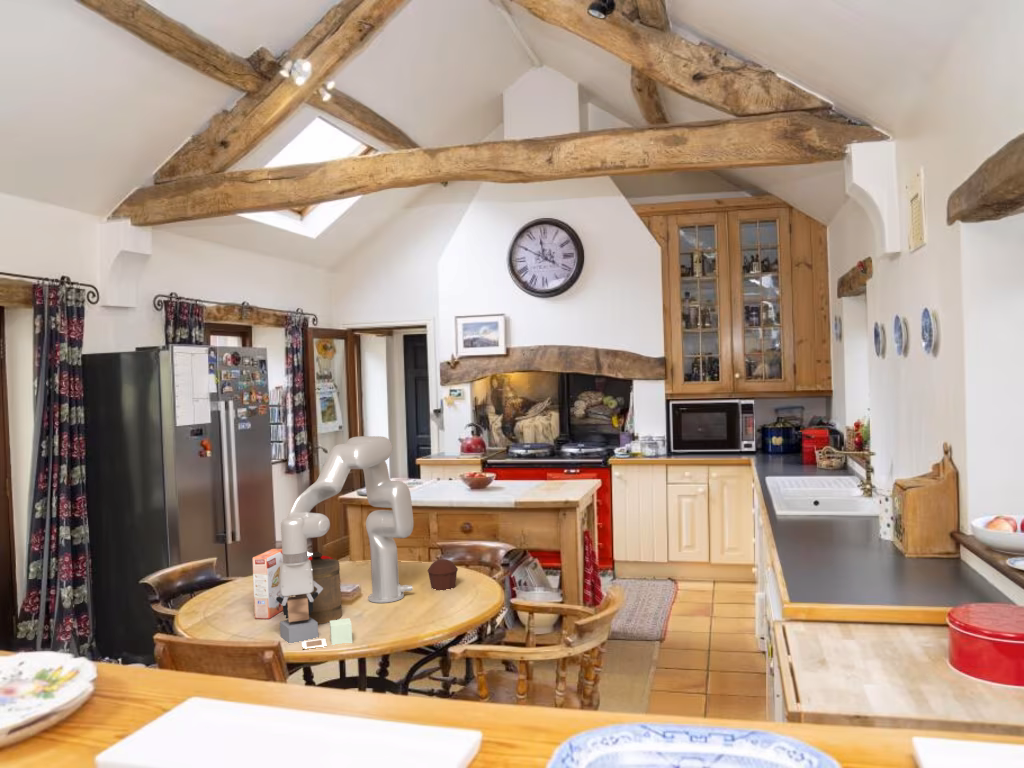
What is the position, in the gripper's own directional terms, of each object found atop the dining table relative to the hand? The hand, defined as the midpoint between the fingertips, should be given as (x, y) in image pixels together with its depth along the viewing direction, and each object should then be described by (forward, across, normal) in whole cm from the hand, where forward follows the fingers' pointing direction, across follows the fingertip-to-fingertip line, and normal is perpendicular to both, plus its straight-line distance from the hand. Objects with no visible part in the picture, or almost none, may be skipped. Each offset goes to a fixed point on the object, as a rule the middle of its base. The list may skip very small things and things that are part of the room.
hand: (298, 615), depth 244 cm
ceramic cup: (+7, -9, -64) cm, 65 cm away
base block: (+7, 0, 0) cm, 7 cm away
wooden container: (+7, -7, -18) cm, 20 cm away
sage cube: (+7, -12, +10) cm, 17 cm away
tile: (+7, -4, +10) cm, 12 cm away
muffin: (+7, -53, -36) cm, 64 cm away
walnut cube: (+1, 0, 0) cm, 1 cm away
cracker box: (+7, +8, -31) cm, 33 cm away
